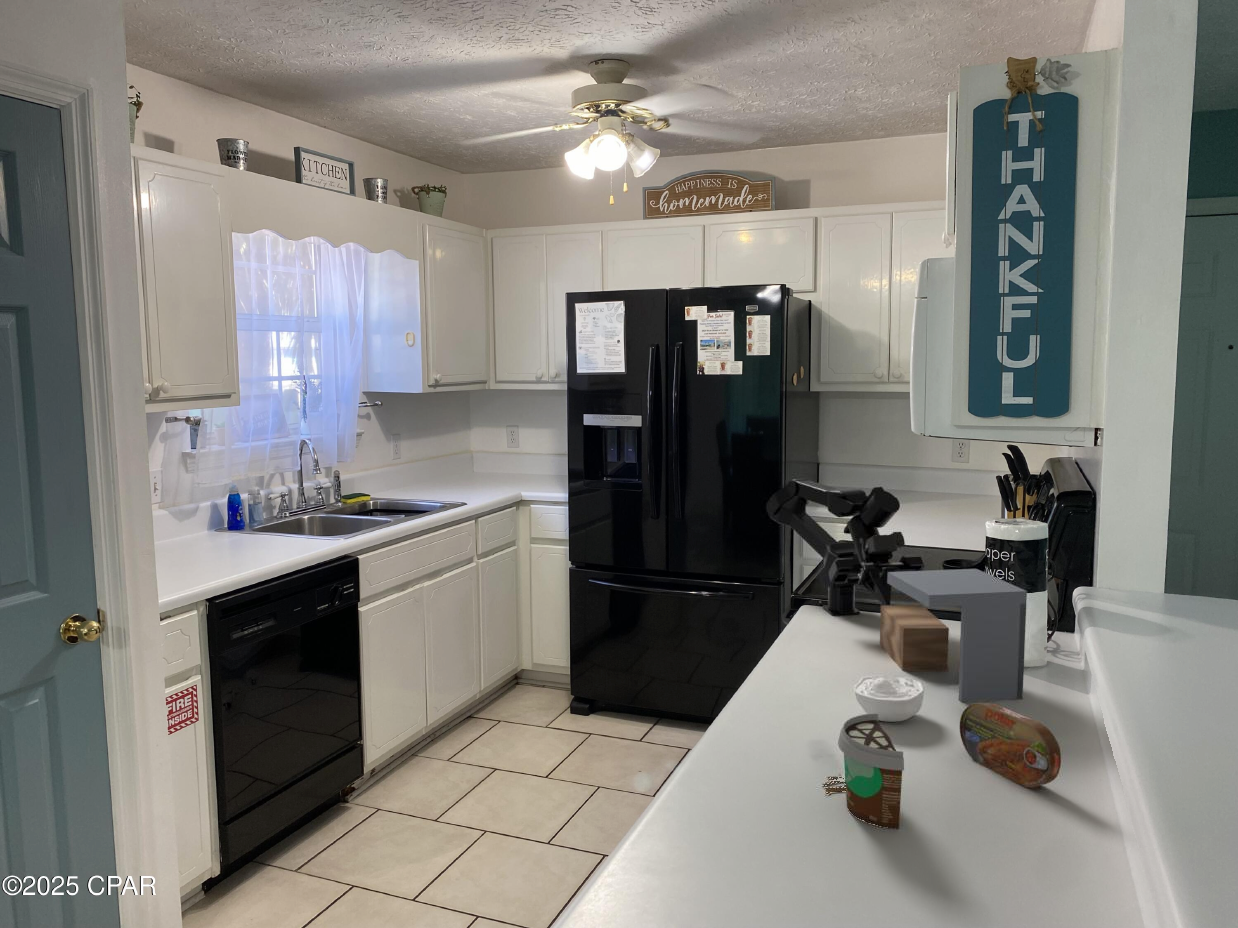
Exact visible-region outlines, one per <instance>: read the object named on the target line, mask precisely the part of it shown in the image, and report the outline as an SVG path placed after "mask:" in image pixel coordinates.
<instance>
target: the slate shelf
mask: <svg viewBox="0 0 1238 928" xmlns="http://www.w3.org/2000/svg"><path fill="white" fill-rule="evenodd" d="M887 583H888V584H890V585H891V587H893V588H895V589H896V590H898V591H900V592H902V593H903V594H905V595H907V596H909V597H910V598H912V599H914V600H916V601H917V602H918V603H921V604H922V605H923V606H925V607H927V608H946V607H948V608H949V607H952V608H953V607H960V609H961V610H960V613H961V615H960V636H959V638H960V642H959V643H960V644H959V673H958V674H959V675H958V701H959V702H960V703H969V702H970V703H972V702H975V703H976V702H987V701H988V702H989V701H993V702H994V701H1006V700H1009V701H1010V700H1023V697H1024V696H1023V695H1024V673H1025V670H1024V669H1025V650H1026V649H1025V648H1026V627H1027V626H1026V622H1027V598H1028V597H1027V595H1028V591H1027V590H1025V589H1023V588H1020V587H1018V586H1016V585H1014V584H1012V583H1010V582H1007V581H1005V580H1003V579H1000V578H998V577H996V576H993V575H991V574H989V573H987V572H985V571H982V570H980V569H978V568H962V569H936V570H934V569H933V570H922V571H905V572H888V578H887Z"/></svg>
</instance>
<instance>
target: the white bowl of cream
mask: <svg viewBox="0 0 1238 928" xmlns="http://www.w3.org/2000/svg"><path fill="white" fill-rule="evenodd" d="M853 691H854V695H855V697H856V701H857V703H858V704H859V706H860V707H861V708H862V709H863V710H864V712H865V714H878V722H879V721H881V722H890V723H891V722H892V723H893V722H894V723H895V722H902V721H906V720H908V719H909V718H911V717H914V715H916V714H918V713H919V712H920V710H921V708H922V706H923V702H924V694H925V693H924V692H925V687H924V686H923V683H922V682H920V681H918V680H915V679H912V678H911V677H905V676H898V675H894V676H893V675H880V674H879V675H878V674H877V675H870V676H863V677H861V678H860V679H859V681H858V683H856V684H855V685H854V686H853Z"/></svg>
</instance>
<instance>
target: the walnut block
mask: <svg viewBox="0 0 1238 928" xmlns="http://www.w3.org/2000/svg"><path fill="white" fill-rule="evenodd" d="M879 619H880V620H879V621H880V624H879V625H880V626H879V645H880V647H881V648H882V649H883V650H884V652H886V653H887V655H888V656H889V657H890V658H891V659H892V661H894V663H895V664H896V665H897V666H898V668H900V670H901V671H903V672H905V671H906V672H908V671H909V672H913V671H914V672H915V671H916V672H917V671H918V672H919V671H920V672H921V671H922V672H923V671H925V672H926V671H930V672H932V671H934V672H935V671H936V672H938V671H939V672H940V671H941V672H942V671H944V672H945V671H946V672H947V671H948V669H949V668H948V667H949V638H950V637H949V636H950V633H949V632H950V628H949V626H947V625H946V624H945V623H943V622H942V621H941V620H940V619H939V618H938V617H937V616H935V615H934V614H933V613H932V612H930V611H929V610H928V609H927V608H926V606H925V607H924V605H923V604H922V605H921V604H919V605H916V604H915V605H908V604H907V605H906V604H905V605H902V604H901V605H900V604H899V605H897V604H896V605H895V604H894V605H893V604H892V605H891V604H890V605H883V604H882V605H880V618H879Z"/></svg>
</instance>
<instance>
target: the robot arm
mask: <svg viewBox="0 0 1238 928" xmlns="http://www.w3.org/2000/svg"><path fill="white" fill-rule="evenodd" d="M809 501H810V502H812V503H816V504H819V505H821V506H824V507H826V508H827V511H828V512H829V514H832V515H834V516H835V517H837V518H849V517H851V518H850V519H849V520H848V521H847V523H846V525H845V527H844V528H843V533H844V534H847V535H850V537H851V540H852V541H847V542H838V541H837V540H836V539H835V538H834V537H833V536H832V535H830V533H829V532H827V531H826V530H825V528H823V527H822V526H821V525H820V524H819V523H818V522H817V521H816V520H814V519H813V517H811V516H810V515H809V514H808V513H807V510H806V509H807V505H809ZM765 507H766V508H765V509H766V513H767V514H768V515H767V516H769V517H770V519H771V520H773V521H775V522H776V523H778V524H780V525H784V526H788V527H790V528H791V529H792V530H793V531H795V533H797V535H799V536H800V538H801V539H802V540H804V542H806V543H807V544H808V545H809V546H810V547H811V549H813V550H814V551H815V552H816V553H817V554H818V555H819V556H820V557H821V558H822V560H823V568H822V569H821V570H820V572H819V573H818V574H817V575H818V580H819V584H820V585H824V586H825V587H828V588H827V592H828V593H827V595H828V597H827V598H828V599H827V604H823V605H822V608H823V609H824V610H825V611H827V612H828V613H829V614H830V615H833V616H840V615H842V616H845V615H860V614H861V611H860V610H859V609H858V608H856V607H855V606H856V605H855V603H856V601H855V599H856V598H855V596H856V595H855V593H856V586H857V585H859V586H862V587H864V589H866V590H868V592H870V593H871V594H872V595H873V596H874V597H875V598H876V599H877V600H878V601H879V602H880V603H881V604H882V605H891V602H892V601H891V599H892V586H891V585H890V584H888V583H887V578H888V572H905V571H924V568H925V567H926V564H925V561H924V558H923V557H922V556H920V555H919V554H918V555H916V554H915V555H914V554H913V555H902V556H901V558H900V559H899V561H898V562H889V560H892V558H893V557H894V555H893V553H894V552H898V550H899V549H902V548H903V547H905V545H906V542H905V537H904V535H903V533H902V531H893V532H892V533H890V534H880V532H879V528H883V527H885V526H886V525H887V524H888V522H890V520H892V518H893V517H894V516H895V515H896V513H898V511H899V510H900V509H901V508H900V507H901V504H900V501H899V499H898V498H897V497H895V495H894V494H892V493H891V492H889V491H886V490H885V489H884V488H883V486H876V487H875V486H874V487H873V488H872V490H871V491H870V493H869V494H868V495H867V493H866V492H865V491H864V490H863V489H860V488H859V489H855V488H851V489H850V488H849V489H848V488H845V489H842V488H841V489H840V488H835V487H832V486H828V485H825V484H822V483H819V482H815V481H812V479H808V478H797V479H796V478H795V479H794V478H793V479H791V480H789V481H788V482H787V483H786V485H785V486H783V487H782V488H780V489H779V490H777V491H775V492H774V493H773V494H772V496H770V497H769V499H768V501H766V506H765Z"/></svg>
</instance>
